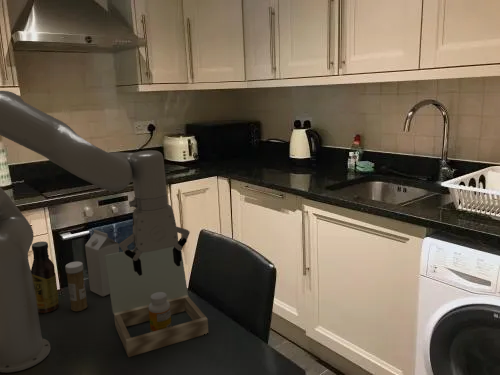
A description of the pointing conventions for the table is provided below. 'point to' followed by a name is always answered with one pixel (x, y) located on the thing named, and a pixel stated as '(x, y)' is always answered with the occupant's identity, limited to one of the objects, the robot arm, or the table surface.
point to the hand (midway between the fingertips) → (158, 268)
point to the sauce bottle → (44, 278)
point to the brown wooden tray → (164, 335)
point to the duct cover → (144, 278)
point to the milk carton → (99, 261)
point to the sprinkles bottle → (76, 286)
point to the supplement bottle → (159, 312)
